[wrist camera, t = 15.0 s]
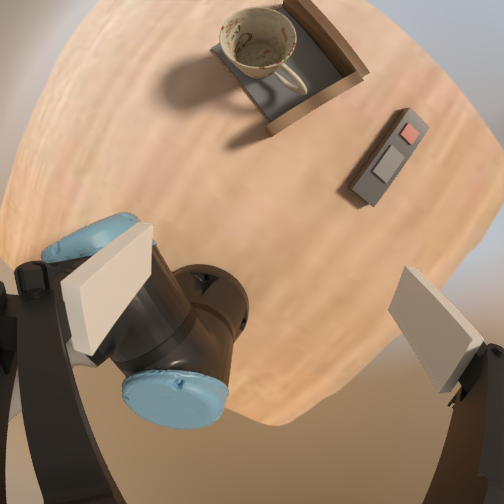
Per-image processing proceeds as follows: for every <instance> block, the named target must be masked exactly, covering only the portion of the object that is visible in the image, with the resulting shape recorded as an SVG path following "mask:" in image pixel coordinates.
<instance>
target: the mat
mask: <svg viewBox="0 0 504 504" xmlns="http://www.w3.org/2000/svg"><path fill="white" fill-rule="evenodd" d="M276 11H278V12H280V13H281V14H283V15H284V16H285V17H287V18H288V19H289V21H290V22H291V23H292V25H293V27H294V29H295V32H296V45H295V48H294V51H293V52H292V54H291V55H290V57H289V58H288V59H287V60H286V61H285V62H284V64H286V65H287V66H288V67H289V68H290V69H291V70H292V71H294V72H295V73H296V74H297V75H298V76H299V77H300V79H301V80H302V81H303V83H304V84H305V86H306V88H307V94H306V95H300V94H297V93H295V92H293V91H291V90H289V89H288V88H286V87H285V86H284V85H283V84H282V83H281V82H280V81H279V80H278V79H277V78H276V77H275V76H274V75H271V76H269V77H266V78H260V79H257V78H252V77H249V76H247V75H245V74H244V73H243V72H242V71H241V70H240V69H239V68H238V67H237V66H235V65H234V64H233V63H232V62H231V61H230V60H229V59H228V58H227V56H226V55H225V54H224V52H223V50H222V48H221V45H220V43H219V44H217V45H216V46H214V47H212V50H213V51H214V52H215V53H216V54H217V55H218V56H219V58H220V59H221V60H222V61H223V62H224V63H225V64H226V66H227V67H228V68H229V69H230V70H231V72H232V73H233V74H234V75H235V76H236V78H237V79H238V80H239V81H240V82H241V84H242V85H243V86H244V87H245V89H246V90H247V91H248V92H249V94H250V95H251V96H252V97H253V99H254V100H255V101H256V103H257V104H258V105H259V106H260V108H261V109H262V110H263V112H264V113H265V114H266V116H267V117H268V118H269V120H270V121H271V122H272V121H274V120H275V119H277V118H278V117H280V116H281V115H283V114H284V113H286V112H287V111H289V110H291V109H292V108H294V107H295V106H297V105H299V104H300V103H302V102H303V101H305V100H307V99H308V98H310V97H312V96H313V95H315V94H317V93H318V92H320V91H322V90H323V89H325V88H327V87H329V86H330V85H332V84H334V83H336V82H337V81H339V80H341V79H343V78H342V76H341V75H340V74H339V72H338V71H337V70H336V68H335V67H334V66H333V64H332V63H331V62H330V61H329V59H328V58H327V57H326V55H325V54H324V53H323V52H322V50H321V49H320V48H319V47H318V46H317V44H316V43H315V42H314V41H313V40H312V38H311V37H310V36H309V35H308V34H307V33H306V32H305V30H304V29H303V28H302V27H301V26H300V25H299V24H298V23H297V21H296V20H295V19H294V18H293V17H292V16H291V15H290V14H289V13H288V12H287V11H286V10H285V9H284V8H283V7H282V8H280V9H278V10H276ZM276 73H278V74H279V75H281V76H282V77H283V78H284V79H285V80H287V81H288V82H290V83H291V84H292V85H294V86H296V87H298V86H297V84H296V83H295V82H294V80H293V79H292V78H291V77H290V76H289V75H288V74H286V73H285V72H284V71H283V70H282V69H281V68H279V69H278V70H277V71H276Z"/></svg>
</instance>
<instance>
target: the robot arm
mask: <svg viewBox="0 0 504 504" xmlns="http://www.w3.org/2000/svg"><path fill="white" fill-rule="evenodd" d="M152 230H153V224H150V223H144V222H141V221H140V220H139V218H138V217H137V216H135V215H134V214H131V213H127V212H123V213H118V214H115V215H112V216H109V217H107V218H104V219H102V220H99V221H97V222H95V223H92V224H90V225H88V226H86V227H84V228H81V229H79V230H77V231H75V232H73V233H72V234H70V235H68V236H66V237H64V238H62V239H61V240H60V241H58V242H56V243H54V244H53V245H50V246H49V247H47V248H46V249H44V250H43V251H42V254H41V257H42V261H30V262H26V263H24V264H21V265H20V266H18V267H17V268H16V269H15V271H14V275H15V280H16V285H17V290H18V294H19V295H10V294H6V290H5V286H4V283H3V282H1V281H0V504H7V503H6V484H5V462H6V461H5V460H6V440H7V430H8V422H9V421H10V420H12V419H13V418H14V417H15V416H16V415H17V414H19V413H20V412H21V411H22V414H23V420H24V426H25V431H26V436H27V441H28V446H29V450H30V454H31V458H32V462H33V466H34V470H35V473H36V476H37V480H38V483H39V486H40V489H41V492H42V495H43V499H44V504H127V503H126V502H125V500H124V498H123V496H122V494H121V493H120V491H119V489H118V487H117V485H116V483H115V481H114V479H113V478H112V475H111V473H110V471H109V470H108V467H107V465H106V463H105V461H104V459H103V456H102V454H101V452H100V449H99V447H98V445H97V442H96V440H95V437H94V435H93V432H92V430H91V427H90V424H89V422H88V419H87V416H86V413H85V410H84V407H83V404H82V401H81V398H80V395H79V392H78V388H77V385H76V382H75V378H74V375H73V371H72V368H73V367H74V366H79V365H81V366H87V367H94V368H96V367H98V366H99V365H100V364H101V363H103V362H104V361H105V360H106V359H108V358H109V357H110V358H111V360H112V361H113V362H114V363H115V364H116V365H117V367H118V368H119V369H120V370H121V371H122V372H123V374H124V375H125V376H126V379H124V381H123V383H122V393H123V394H122V397H123V400H124V402H125V403H126V405H127V406H128V407H129V408H130V409H131V410H132V411H133V412H134V413H136V414H137V415H138V416H140V417H142V418H143V419H145V420H147V421H150V422H152V423H155V424H158V425H160V426H165V427H169V428H174V429H196V428H201V427H205V426H208V425H210V424H212V423H213V422H215V421H216V420H217V419H219V417H220V416H221V414H222V413H223V410H224V407H225V403H226V399H227V397H228V395H229V390H228V384H229V376H230V368H231V360H232V352H233V344H234V342H235V341H236V340H237V338H238V337H239V336H240V334H241V333H242V332H243V330H244V328H245V326H246V323H247V320H248V312H249V302H248V297H247V294H246V292H245V290H244V288H243V287H242V285H241V284H240V283H239V282H238V280H237V279H236V278H234V277H233V276H232V275H231V274H229V273H228V272H226V271H224V270H222V269H220V268H217V267H214V266H210V265H203V264H196V265H189V266H186V267H183V268H181V269H179V270H177V271H176V272H174V273H173V274H172V272H171V271H170V269H169V267H168V266H167V264H166V262H165V261H164V259H163V257H162V255H161V254H160V252H159V250H158V248H157V246H156V245H157V244H156V242H155V241H154V240H152ZM388 311H389V312H390V314H391V315H392V317H393V318H394V320H395V322H396V323H397V325H398V326H399V328H400V329H401V331H402V333H403V334H404V336H405V337H406V339H407V341H408V342H409V344H410V345H411V347H412V349H413V350H414V352H415V353H416V355H417V357H418V359H419V360H420V362H421V363H422V365H423V367H424V369H425V371H426V372H427V374H428V376H429V378H430V379H431V381H432V383H433V385H434V386H435V388H436V390H437V392H438V393H445V392H451V390H452V389H453V388H454V386H455V385H456V383H457V382H458V381H459V382H460V384H461V388H460V389H459V390H458V392H457V393H456V394H455V396H454V397H453V399H452V400H451V401H450V402H449V404H448V406H450V405H451V404H452V403H455V404H454V406H453V407H452V408H453V413H452V418H451V422H450V426H449V430H448V433H447V437H446V440H445V444H444V447H443V450H442V454H441V457H440V460H439V463H438V466H437V468H436V471H435V474H434V477H433V479H432V482H431V484H430V487H429V490H428V492H427V494H426V497H425V499H424V501H423V503H422V504H504V349H503V348H502V347H501V346H499V345H496V344H492V343H490V344H488V345H486V344H485V343H484V341H483V340H484V339H483V338H482V336H481V335H480V334H479V333H478V332H477V331H476V330H475V328H473V326H472V325H471V324H470V323H469V322H468V321H467V320H466V318H465V317H464V316H463V315H462V314H461V313H460V312H459V311H458V310H457V309H456V308H455V307H454V306H453V305H452V304H451V303H450V302H449V300H447V298H445V296H444V295H443V294H442V293H441V292H440V291H439V290H438V289H437V288H436V287H435V286H434V285H433V284H432V283H431V282H430V281H429V280H428V279H427V278H426V277H424V276H423V275H422V274H421V273H420V272H419V271H418V270H417V269H416V268H413V267H407V266H405V267H404V270H403V273H402V275H401V278H400V281H399V283H398V286H397V289H396V291H395V294H394V296H393V299H392V301H391V304H390V306H389V309H388Z"/></svg>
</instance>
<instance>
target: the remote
mask: <svg viewBox="0 0 504 504" xmlns="http://www.w3.org/2000/svg"><path fill="white" fill-rule="evenodd" d="M429 128H430V127H429V126H428V125H427V124H426V123H425V122H424V121H423V120H422V119H421V118H420V117H419V116H418V115H417V114H416V113H415V112H414V111H413V110H412V109H411V108H404V110H403V111H402V112H401V114H400V115H399V117H398V118H397V120H396V121H395V123H394V124H393V125H392V127H391V128H390V130H389V131H388V133H387V134H386V135H385V137H384V138H383V140H382V141H381V142H380V144H379V145H378V147H377V148H376V149H375V151H374V152H373V154H372V155H371V156H370V158H369V159H368V160H367V162H366V163H365V165H364V166H363V167H362V169H361V170H360V171H359V173H358V174H357V176H356V177H355V178H354V180H353V181H352V182H351V184H350V185H349V186H348V187H349V188H350V189H351V190H352V191H354V192H355V193H356V194H357V195H358V196H360V197H361V198H362V199H363V200H364V201H365V202H367V203H368V204H369V205H371V206H372V207H374V206H375V205H376V204H377V202H378V201H379V200H380V198H381V197H382V195H383V194H384V193H385V191H386V190H387V189H388V187H389V186H390V185H391V183H392V182H393V180H394V179H395V178H396V176H397V175H398V173H399V172H400V170H401V169H402V168H403V166H404V165H405V163H406V162H407V160H408V159H409V158H410V156H411V155H412V153H413V152H414V150H415V149H416V147H417V146H418V144H419V143H420V141H421V140H422V138H423V137H424V135H425V134H426V132H427V131H428V129H429Z"/></svg>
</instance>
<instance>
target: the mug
mask: <svg viewBox="0 0 504 504" xmlns="http://www.w3.org/2000/svg"><path fill="white" fill-rule="evenodd" d="M220 45H221V48H222V50H223V52H224V54H225V55H226V56H227V58H228V59H229V60H230V61H231V62H232V63H233V64H234V65H235V66H237V67H238V68H239V69H240V70H241V71H242V72H243V73H244V74H245V75H247V76H249V77H252V78H257V79H260V78H266V77H269V76H271V75H274V76H275V77H276V78H277V79H278V80H279V81H280V82H281V83H282V84H283V85H284V86H285V87H286V88H288V89H289V90H291V91H293V92H295V93H297V94H300V95H306V94H307V88H306V86H305V84H304V83H303V81H302V80H301V79H300V77H299V76H298V75H297V74H296V73H295V72H294V71H292V70H291V69H290V68H289V67H288V66H287V65H286V64H284V62H285V61H286V60H287V59H288V58H289V57H290V55H291V54H292V52H293V51H294V48H295V45H296V32H295V29H294V27H293V25H292V23H291V22H290V21H289V19H288V18H287V17H285V16H284V15H283V14H281V13H280V12H278V11H276V10H273V9H270V8H265V7H251V8H246V9H243V10H240V11H238V12H236V13H234V14H233V15H232V16H230V17H229V18H228V19H227V20H226V21H225V23H224V24H223V26H222V28H221V31H220ZM279 68H281V69H282V70H283V71H284V72H285V73H286V74H288V75H289V76H290V77H291V78H292V79H293V80H294V82H295V83H296V84H297V86H298V87H296V86H294V85H292V84H291V83H290V82H288V81H287V80H285V79H284V78H283V77H282V76H281V75H279V74H278V73H276V71H277V70H278V69H279Z"/></svg>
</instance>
